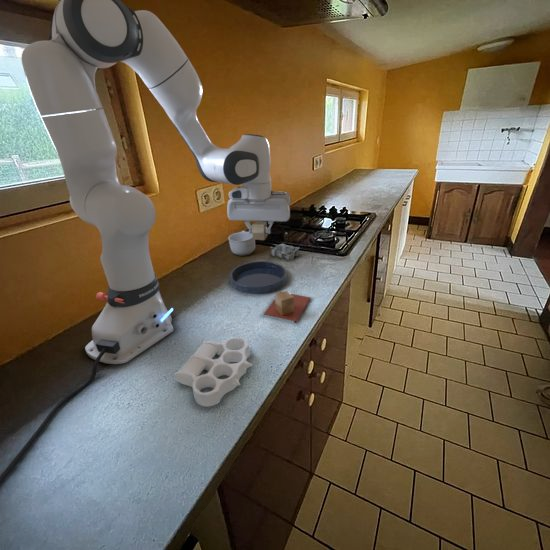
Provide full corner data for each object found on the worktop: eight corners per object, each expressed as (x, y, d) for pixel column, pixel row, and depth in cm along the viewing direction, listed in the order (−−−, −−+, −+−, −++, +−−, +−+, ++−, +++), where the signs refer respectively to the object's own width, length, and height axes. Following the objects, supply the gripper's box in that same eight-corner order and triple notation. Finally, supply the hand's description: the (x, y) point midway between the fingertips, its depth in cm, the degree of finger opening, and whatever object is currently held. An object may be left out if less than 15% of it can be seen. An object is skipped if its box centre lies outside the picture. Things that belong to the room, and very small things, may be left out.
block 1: (264, 240, 99) (263, 225, 97) (252, 239, 100) (251, 225, 98) (267, 236, 102) (266, 221, 100) (256, 235, 103) (255, 221, 101)
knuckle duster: (211, 340, 78) (263, 353, 73) (165, 394, 63) (227, 414, 58) (210, 330, 76) (263, 342, 71) (162, 382, 61) (225, 402, 56)
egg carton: (269, 256, 124) (268, 246, 122) (279, 250, 129) (279, 241, 127) (290, 261, 118) (290, 252, 116) (300, 255, 123) (300, 245, 121)
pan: (273, 299, 94) (272, 291, 93) (220, 289, 101) (219, 281, 100) (294, 272, 110) (294, 265, 108) (246, 265, 117) (246, 258, 115)
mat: (296, 322, 83) (296, 321, 83) (263, 315, 87) (263, 313, 86) (310, 299, 94) (310, 297, 93) (280, 293, 97) (280, 291, 97)
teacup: (251, 259, 122) (250, 240, 118) (226, 258, 124) (224, 239, 120) (260, 246, 134) (259, 229, 130) (236, 245, 136) (235, 228, 132)
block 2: (281, 315, 85) (281, 300, 83) (275, 308, 89) (274, 294, 86) (294, 311, 87) (294, 297, 84) (287, 305, 90) (287, 290, 88)
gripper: (291, 189, 95) (291, 230, 102) (229, 188, 98) (233, 229, 105) (289, 193, 90) (289, 237, 96) (223, 193, 93) (227, 235, 99)
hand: (259, 233), depth 100 cm, fingers closed on block 1, 4 cm apart
